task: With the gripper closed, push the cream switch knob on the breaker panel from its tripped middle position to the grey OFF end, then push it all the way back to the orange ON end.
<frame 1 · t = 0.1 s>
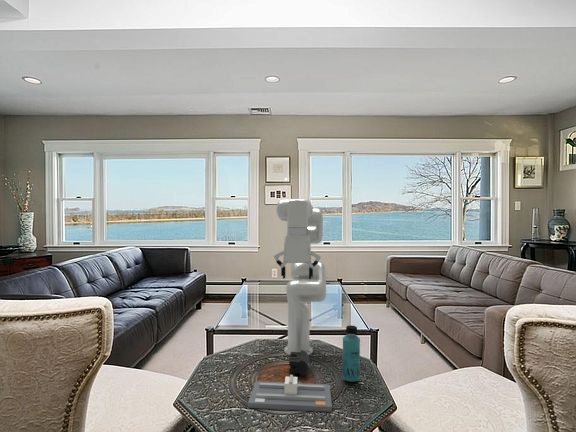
hand: (297, 278, 129), 37 cm above the table, tool pointing down, fingers open, 9 cm apart
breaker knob: (291, 385, 114), point 4 cm above the table, slide at 0.0 cm
beverage bottle: (350, 382, 125), on the table
breaker panel: (290, 397, 114), on the table
end cap: (299, 372, 133), on the table
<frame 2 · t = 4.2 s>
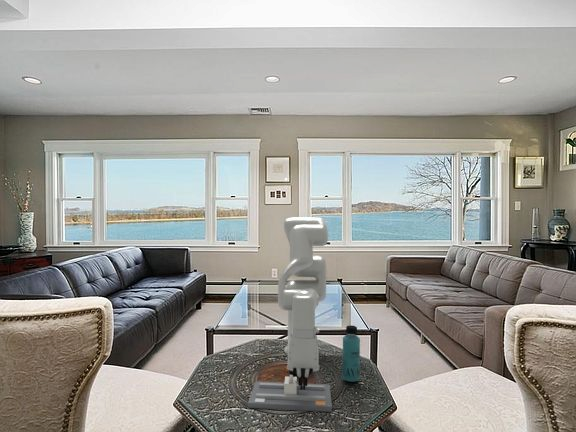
hand: (302, 387, 114), 3 cm above the table, tool pointing down, fingers closed
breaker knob: (290, 385, 114), point 4 cm above the table, slide at -0.1 cm, touching gripper
everything else where it was.
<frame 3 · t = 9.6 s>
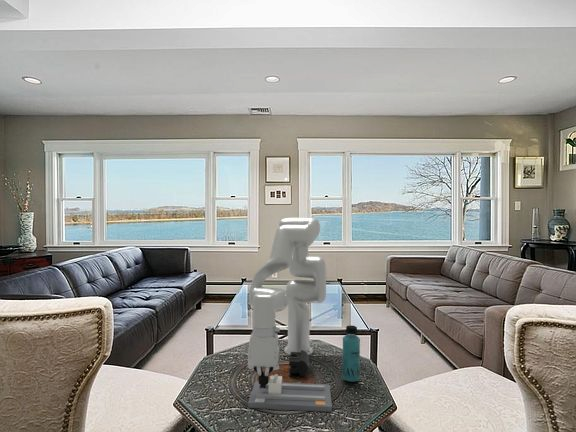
hand: (263, 386, 114), 3 cm above the table, tool pointing down, fingers closed
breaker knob: (275, 384, 114), point 4 cm above the table, slide at -5.1 cm, touching gripper
everything else where it was.
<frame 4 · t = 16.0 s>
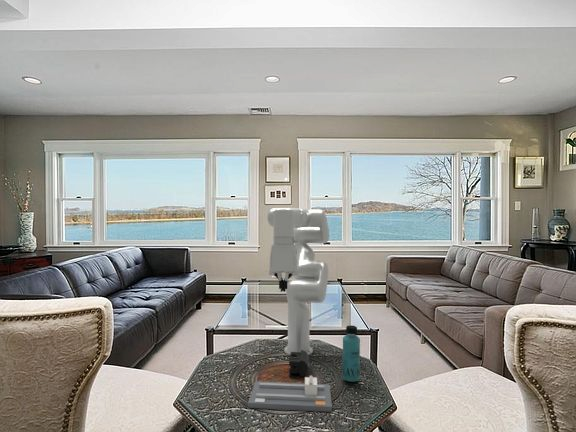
hand: (283, 290, 128), 32 cm above the table, tool pointing down, fingers closed
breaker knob: (310, 386, 113), point 4 cm above the table, slide at 6.5 cm
everything else where it was.
at the end: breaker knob slide at 6.5 cm; beverage bottle moved 0.2 cm from its start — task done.
